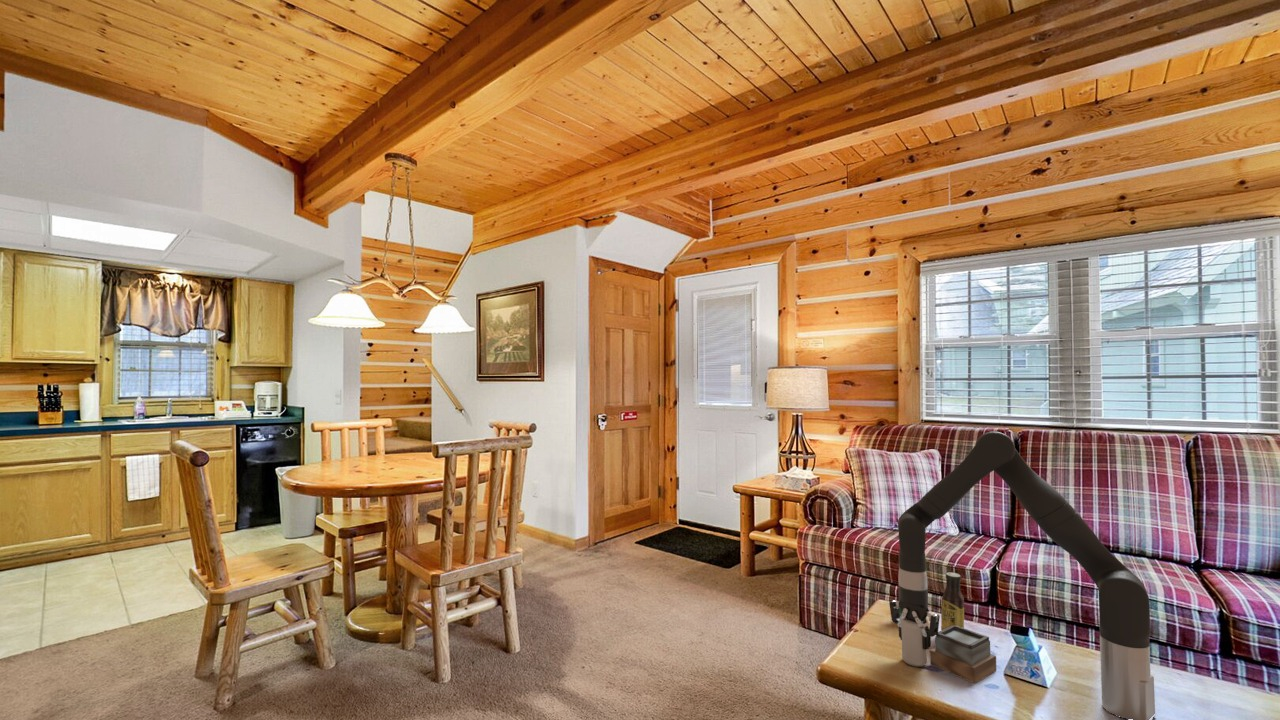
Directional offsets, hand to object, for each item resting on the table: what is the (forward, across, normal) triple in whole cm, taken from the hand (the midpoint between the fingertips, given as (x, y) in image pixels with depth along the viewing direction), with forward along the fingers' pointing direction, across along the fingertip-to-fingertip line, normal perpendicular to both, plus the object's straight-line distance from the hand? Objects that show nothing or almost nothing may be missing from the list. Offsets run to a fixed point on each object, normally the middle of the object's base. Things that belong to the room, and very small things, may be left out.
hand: (914, 644), depth 160 cm
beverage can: (+5, 0, 0) cm, 5 cm away
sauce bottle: (+6, +2, -25) cm, 26 cm away
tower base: (+5, -9, -9) cm, 14 cm away
